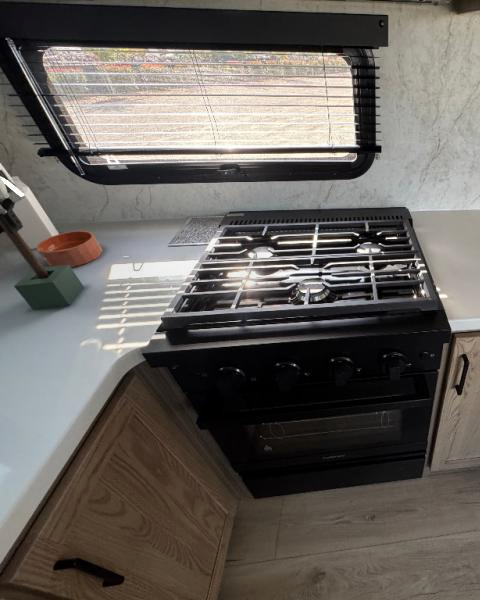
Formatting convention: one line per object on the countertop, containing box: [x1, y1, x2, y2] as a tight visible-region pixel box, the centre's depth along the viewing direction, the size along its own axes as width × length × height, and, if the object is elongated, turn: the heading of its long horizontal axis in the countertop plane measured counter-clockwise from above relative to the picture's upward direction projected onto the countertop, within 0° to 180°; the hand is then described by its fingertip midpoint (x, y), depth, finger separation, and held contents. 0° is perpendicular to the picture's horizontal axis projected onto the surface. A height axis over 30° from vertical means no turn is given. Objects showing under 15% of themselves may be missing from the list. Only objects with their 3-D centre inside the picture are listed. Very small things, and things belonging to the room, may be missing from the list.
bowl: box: [35, 230, 103, 268], centre depth 94 cm, size 12×12×6 cm
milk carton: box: [1, 175, 60, 250], centre depth 96 cm, size 7×7×19 cm
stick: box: [0, 221, 50, 279], centre depth 72 cm, size 2×2×17 cm
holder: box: [13, 265, 85, 311], centre depth 79 cm, size 7×7×7 cm
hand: (9, 230), depth 70 cm, fingers closed on stick, 1 cm apart
